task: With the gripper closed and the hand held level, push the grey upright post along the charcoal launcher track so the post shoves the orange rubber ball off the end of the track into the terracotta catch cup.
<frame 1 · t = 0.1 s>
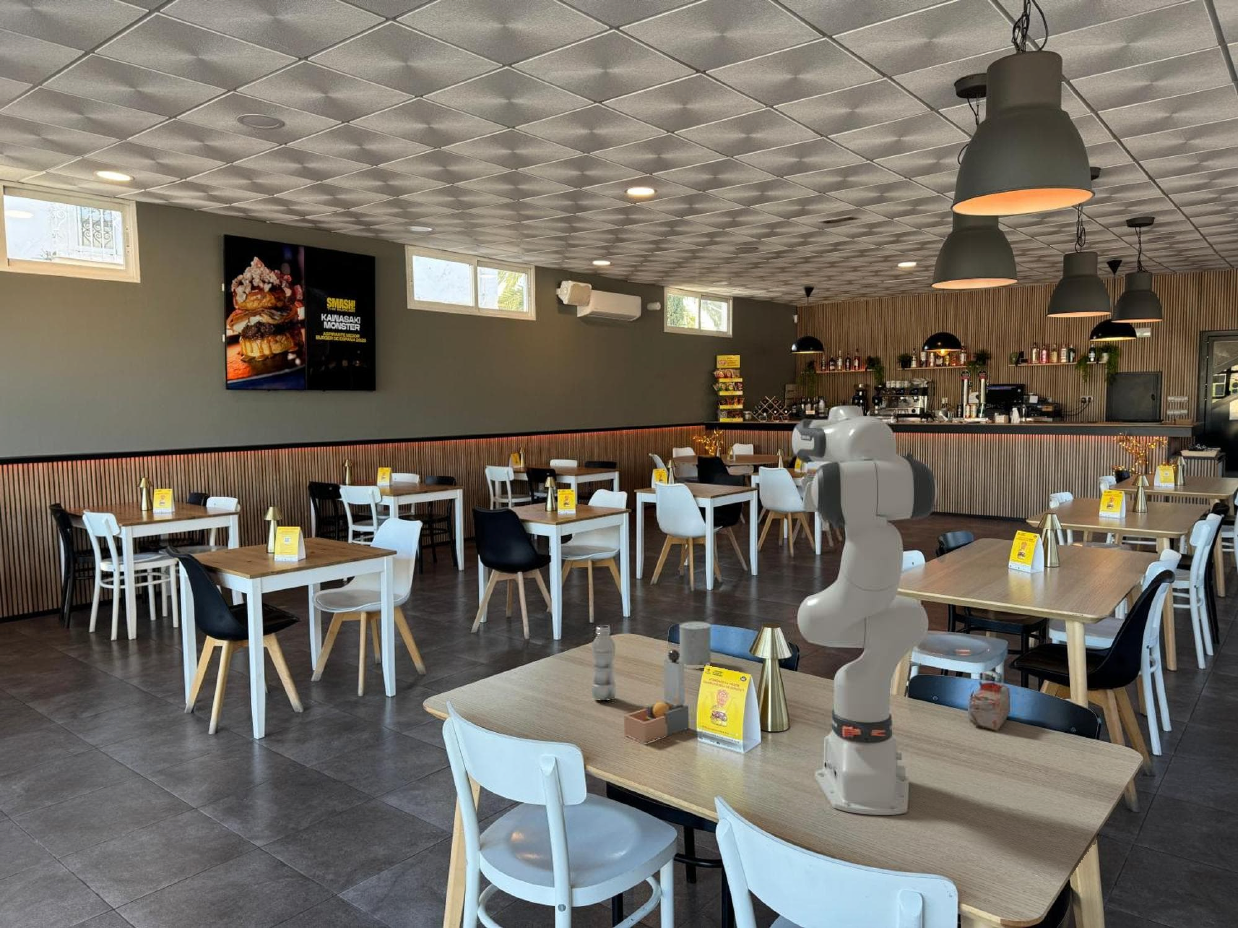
hand: (845, 530, 200), 48 cm above the table, tool pointing down, fingers open, 8 cm apart
catch cup: (645, 736, 197), on the table
grey cylinder: (695, 665, 254), on the table
grey upright post: (673, 681, 203), point 11 cm above the table, slide at 0.0 cm
launcher: (659, 731, 200), on the table
plastic bottle: (604, 700, 223), on the table
food item: (989, 722, 204), on the table
ball: (661, 710, 200), point 5 cm above the table, touching launcher
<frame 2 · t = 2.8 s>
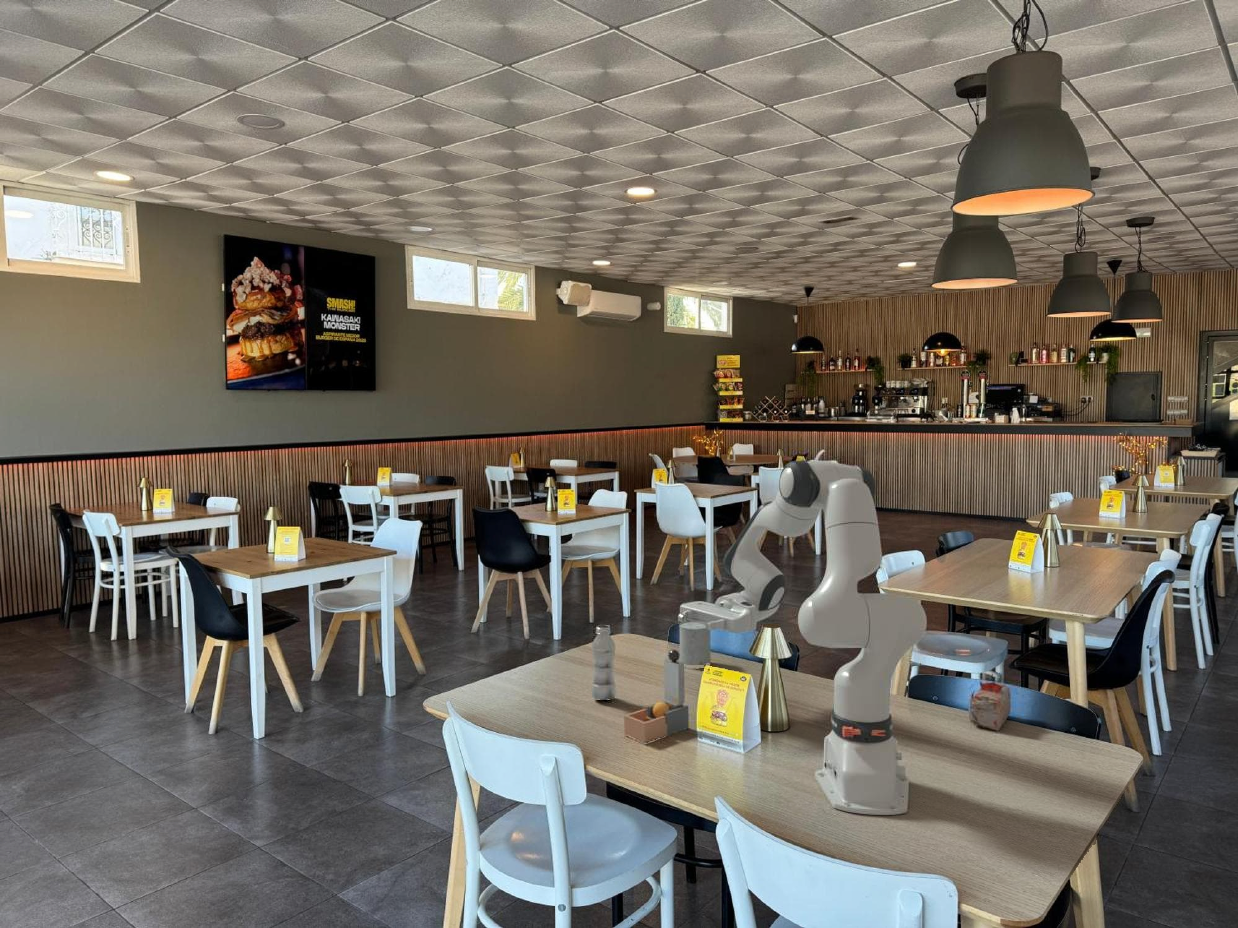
hand: (693, 622, 206), 25 cm above the table, tool horizontal, fingers open, 8 cm apart
nothing on the table moved.
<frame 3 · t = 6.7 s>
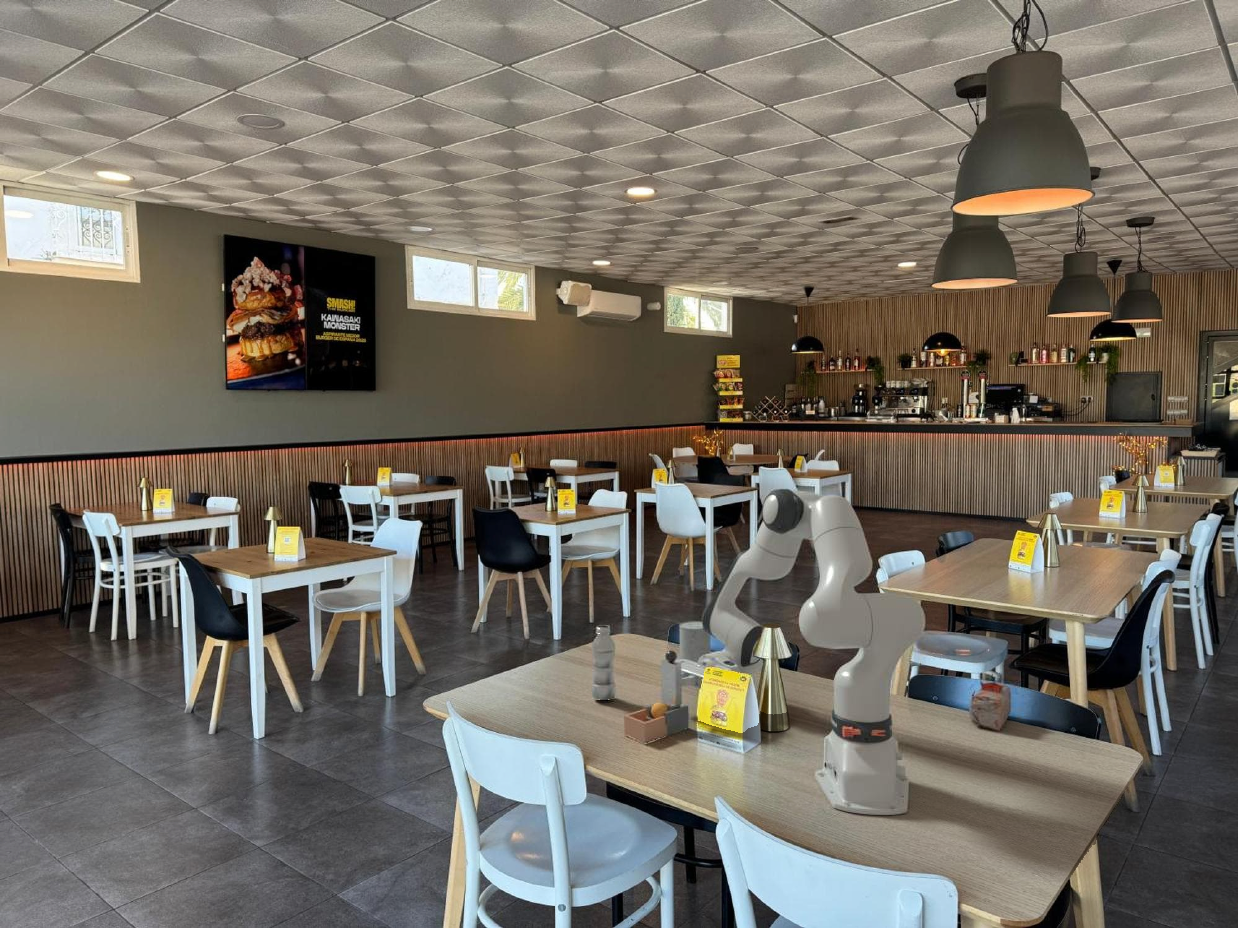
hand: (674, 682, 203), 11 cm above the table, tool horizontal, fingers closed, pressing on grey upright post
grey upright post: (670, 682, 202), point 11 cm above the table, slide at 1.0 cm, touching gripper
ball: (659, 711, 200), point 5 cm above the table, tilted 14°, touching launcher
everything else where it was.
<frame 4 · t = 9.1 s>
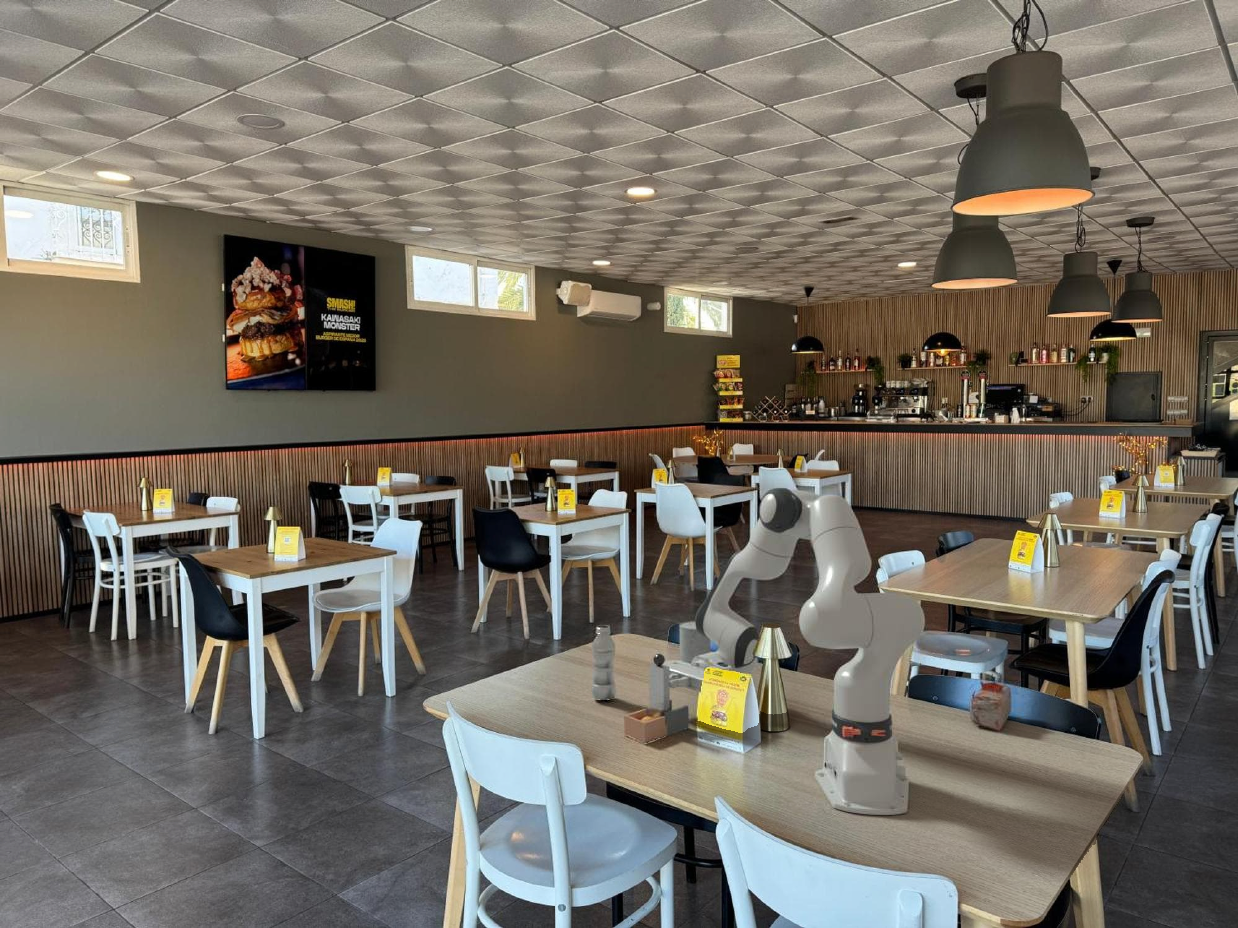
hand: (667, 683, 201), 11 cm above the table, tool horizontal, fingers closed
grey upright post: (658, 686, 199), point 11 cm above the table, slide at 5.0 cm, touching ball
ball: (647, 725, 198), point 2 cm above the table, tilted 141°, touching catch cup, grey upright post
everything else where it was.
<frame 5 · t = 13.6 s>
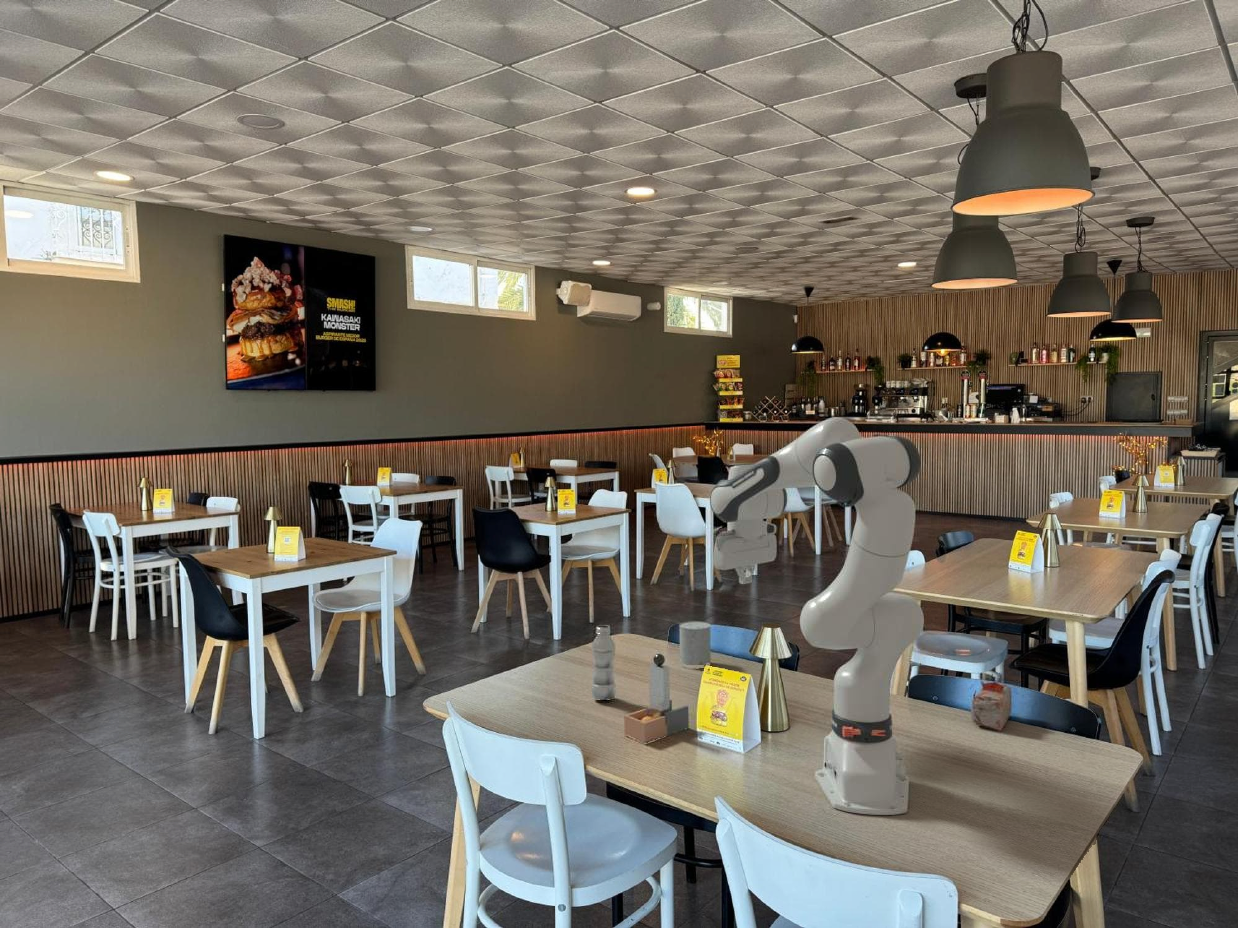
hand: (745, 583, 207), 34 cm above the table, tool pointing down, fingers closed
nothing on the table moved.
at the end: ball 0.7 cm off-centre on the catch cup, point 2.5 cm above the catch cup's base; grey upright post slide at 5.0 cm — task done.
